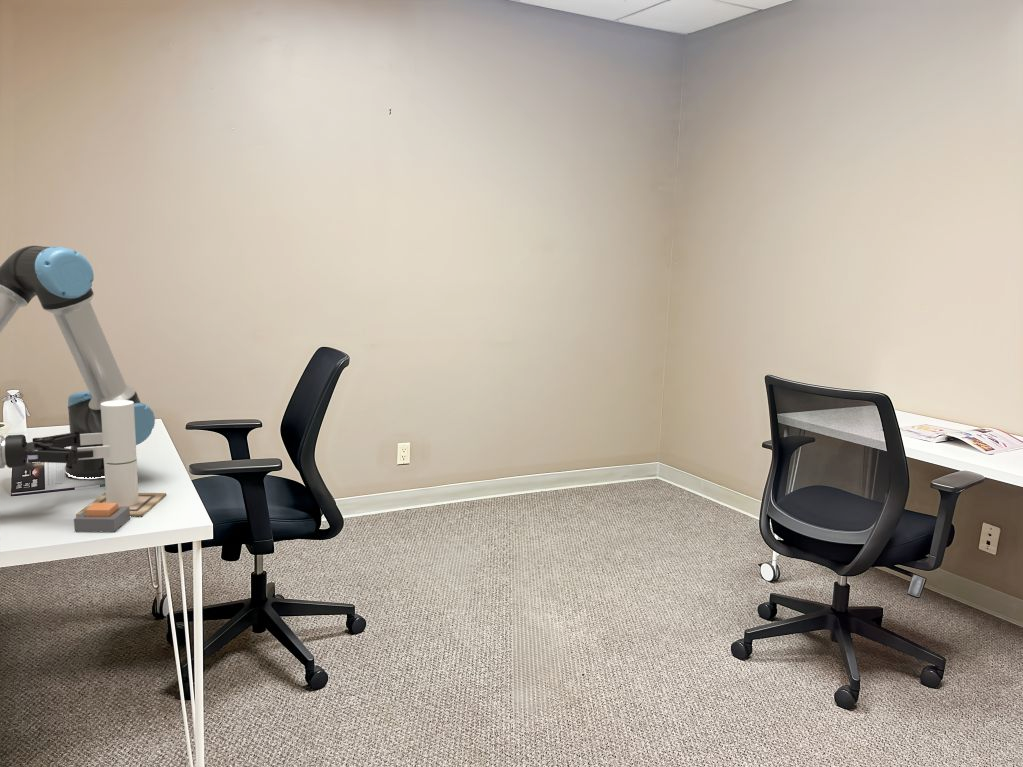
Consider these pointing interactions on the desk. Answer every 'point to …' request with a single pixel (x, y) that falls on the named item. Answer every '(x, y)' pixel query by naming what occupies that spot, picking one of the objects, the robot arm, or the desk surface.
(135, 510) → the picture board
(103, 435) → the cylindrical container
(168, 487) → the desk surface
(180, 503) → the desk surface
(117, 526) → the button housing
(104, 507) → the button
